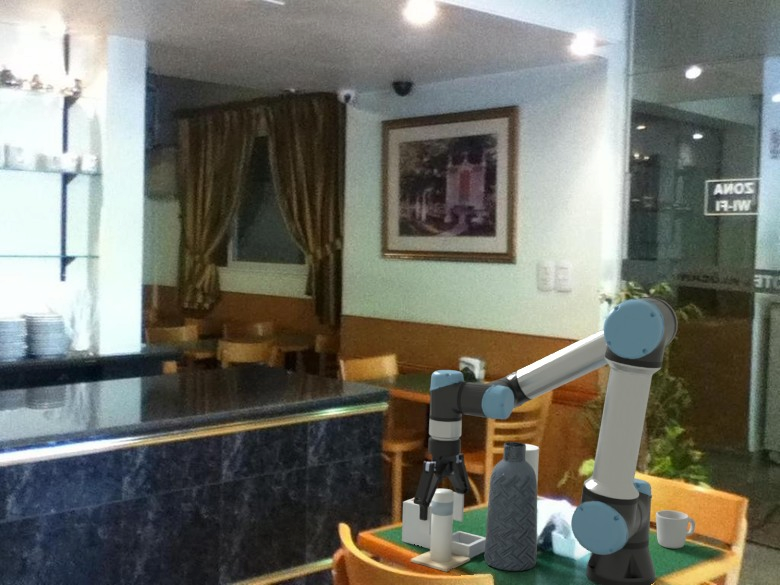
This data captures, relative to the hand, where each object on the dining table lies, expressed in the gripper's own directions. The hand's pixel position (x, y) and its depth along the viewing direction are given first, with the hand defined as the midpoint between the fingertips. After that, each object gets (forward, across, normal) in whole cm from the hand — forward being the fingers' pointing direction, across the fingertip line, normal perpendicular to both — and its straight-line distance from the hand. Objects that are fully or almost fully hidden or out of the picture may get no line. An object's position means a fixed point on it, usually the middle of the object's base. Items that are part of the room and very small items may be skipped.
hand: (441, 526), depth 223 cm
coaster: (+8, 0, 0) cm, 8 cm away
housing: (+8, -10, -6) cm, 14 cm away
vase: (+8, -10, +13) cm, 18 cm away
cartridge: (+8, 0, 0) cm, 8 cm away
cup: (+8, -50, +38) cm, 63 cm away
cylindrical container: (+8, -22, +9) cm, 25 cm away
